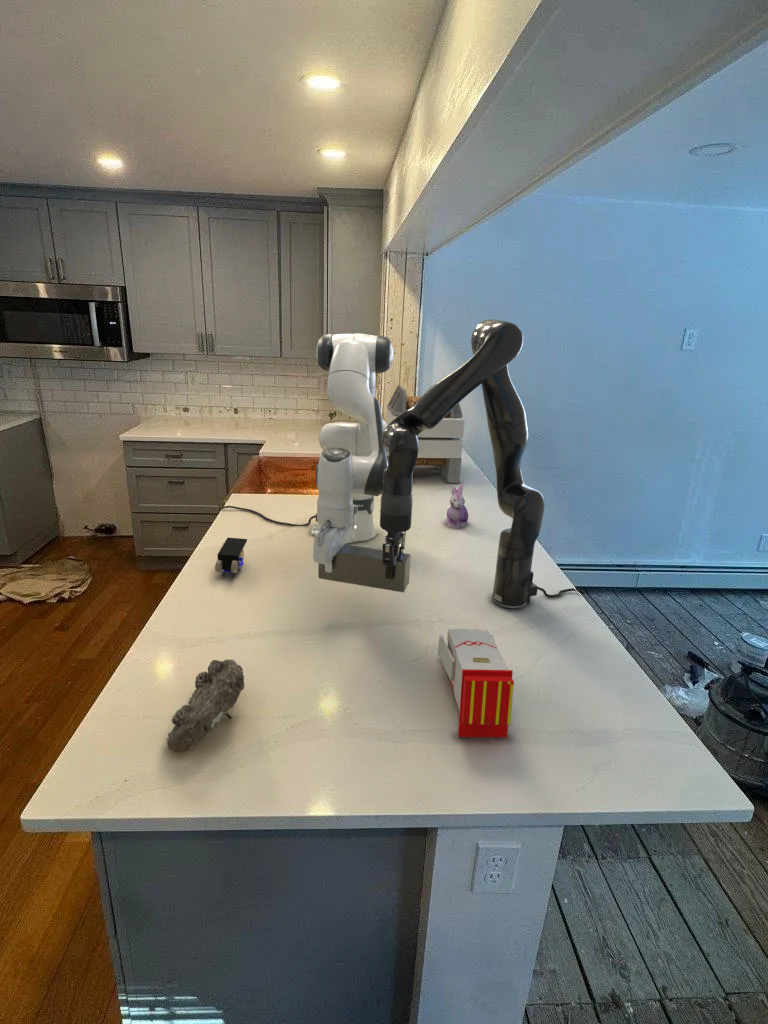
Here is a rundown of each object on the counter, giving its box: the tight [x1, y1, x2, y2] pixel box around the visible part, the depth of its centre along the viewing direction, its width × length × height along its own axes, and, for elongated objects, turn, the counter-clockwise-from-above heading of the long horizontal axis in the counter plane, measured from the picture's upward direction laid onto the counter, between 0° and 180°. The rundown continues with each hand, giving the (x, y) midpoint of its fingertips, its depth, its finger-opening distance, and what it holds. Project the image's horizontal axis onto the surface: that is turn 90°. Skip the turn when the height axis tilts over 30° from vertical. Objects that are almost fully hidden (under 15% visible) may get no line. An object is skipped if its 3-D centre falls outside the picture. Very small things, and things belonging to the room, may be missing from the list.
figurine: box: [445, 484, 469, 529], centre depth 209 cm, size 9×10×15 cm
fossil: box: [166, 658, 245, 754], centre depth 106 cm, size 22×10×15 cm
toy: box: [437, 628, 515, 738], centre depth 117 cm, size 12×13×30 cm
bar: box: [317, 544, 412, 593], centre depth 142 cm, size 22×6×8 cm, turn 74°
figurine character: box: [214, 537, 248, 578], centre depth 166 cm, size 7×8×15 cm
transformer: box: [385, 384, 465, 484], centre depth 268 cm, size 34×33×41 cm
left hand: (334, 565), depth 144 cm, fingers closed on bar, 5 cm apart
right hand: (393, 572), depth 140 cm, fingers closed on bar, 5 cm apart
